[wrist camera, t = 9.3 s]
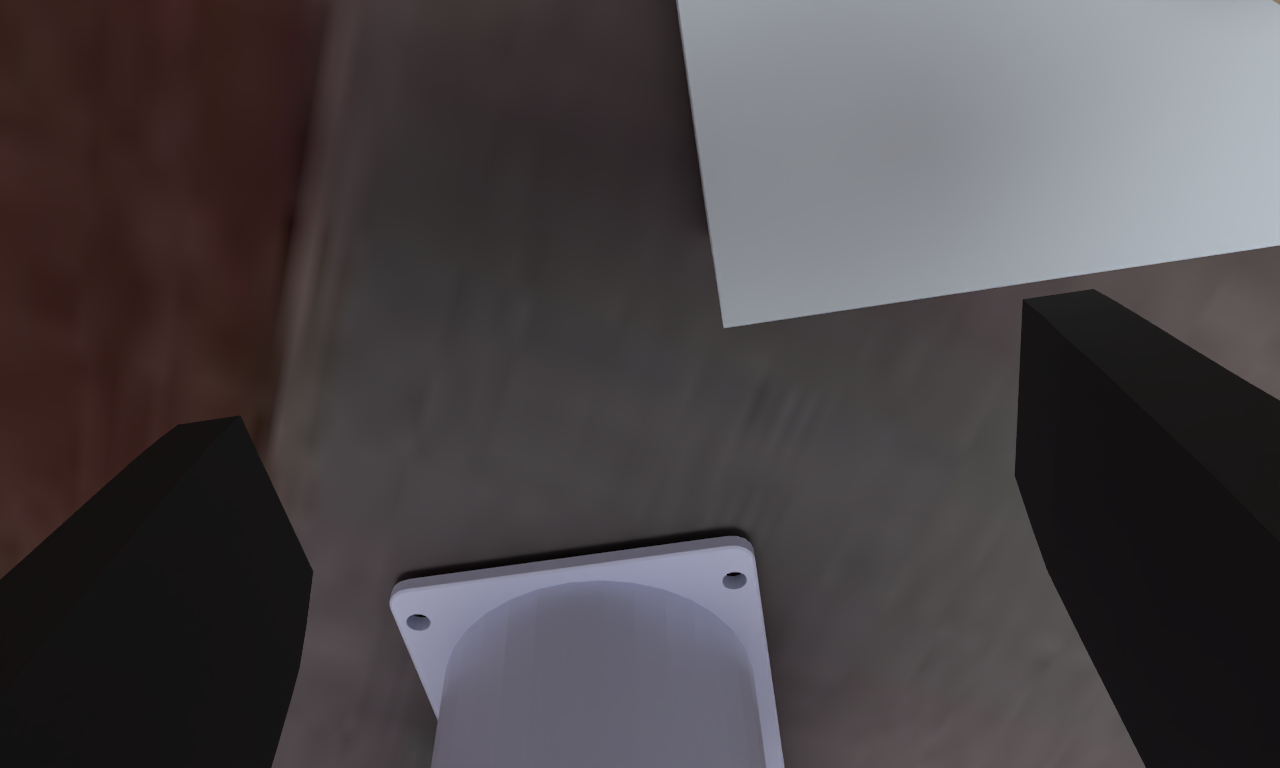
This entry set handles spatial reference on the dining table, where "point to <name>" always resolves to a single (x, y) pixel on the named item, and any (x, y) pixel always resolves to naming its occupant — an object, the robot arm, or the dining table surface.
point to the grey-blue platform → (974, 142)
